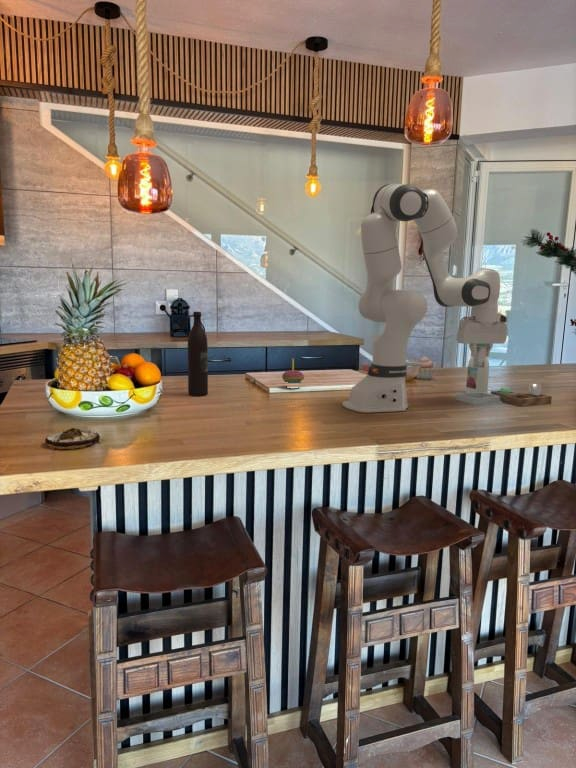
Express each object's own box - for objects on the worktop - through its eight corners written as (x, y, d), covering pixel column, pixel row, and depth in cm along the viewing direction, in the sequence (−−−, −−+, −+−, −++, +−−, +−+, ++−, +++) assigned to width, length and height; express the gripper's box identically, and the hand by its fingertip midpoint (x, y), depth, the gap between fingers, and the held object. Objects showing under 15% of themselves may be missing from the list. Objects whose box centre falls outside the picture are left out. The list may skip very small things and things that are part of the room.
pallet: (519, 408, 192) (520, 399, 191) (501, 403, 199) (502, 395, 198) (550, 404, 198) (551, 396, 198) (532, 400, 205) (533, 392, 205)
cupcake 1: (281, 386, 226) (281, 356, 224) (302, 386, 227) (302, 356, 224) (283, 390, 217) (283, 359, 215) (305, 390, 218) (305, 359, 216)
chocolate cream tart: (69, 456, 132) (68, 439, 131) (28, 447, 139) (26, 431, 138) (116, 442, 144) (116, 426, 144) (77, 434, 152) (76, 419, 151)
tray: (473, 406, 194) (474, 398, 194) (455, 401, 202) (456, 394, 202) (499, 403, 199) (500, 396, 199) (480, 398, 207) (481, 391, 207)
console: (504, 402, 200) (505, 394, 200) (490, 399, 206) (490, 391, 206) (519, 401, 203) (520, 393, 203) (504, 397, 209) (504, 389, 209)
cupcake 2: (436, 378, 252) (437, 355, 250) (432, 381, 243) (434, 358, 242) (415, 376, 256) (416, 354, 254) (411, 379, 247) (412, 356, 245)
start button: (505, 397, 202) (505, 389, 202) (497, 396, 205) (498, 387, 205) (512, 397, 204) (512, 389, 203) (504, 395, 207) (505, 387, 206)
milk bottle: (484, 393, 218) (488, 341, 214) (489, 397, 210) (493, 343, 207) (463, 392, 219) (467, 340, 215) (468, 396, 211) (472, 343, 208)
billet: (478, 367, 196) (480, 347, 194) (470, 365, 199) (472, 346, 198) (487, 367, 197) (489, 347, 196) (478, 365, 201) (480, 346, 200)
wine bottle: (202, 397, 201) (201, 312, 196) (184, 395, 203) (183, 311, 198) (211, 393, 208) (210, 311, 202) (194, 392, 210) (193, 311, 205)
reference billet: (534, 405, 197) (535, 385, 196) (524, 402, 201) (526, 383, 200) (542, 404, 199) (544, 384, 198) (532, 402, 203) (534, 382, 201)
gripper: (467, 316, 188) (463, 357, 190) (511, 317, 197) (507, 357, 199) (454, 315, 194) (450, 355, 196) (498, 316, 203) (494, 355, 205)
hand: (479, 356), depth 198 cm, fingers closed on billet, 4 cm apart
